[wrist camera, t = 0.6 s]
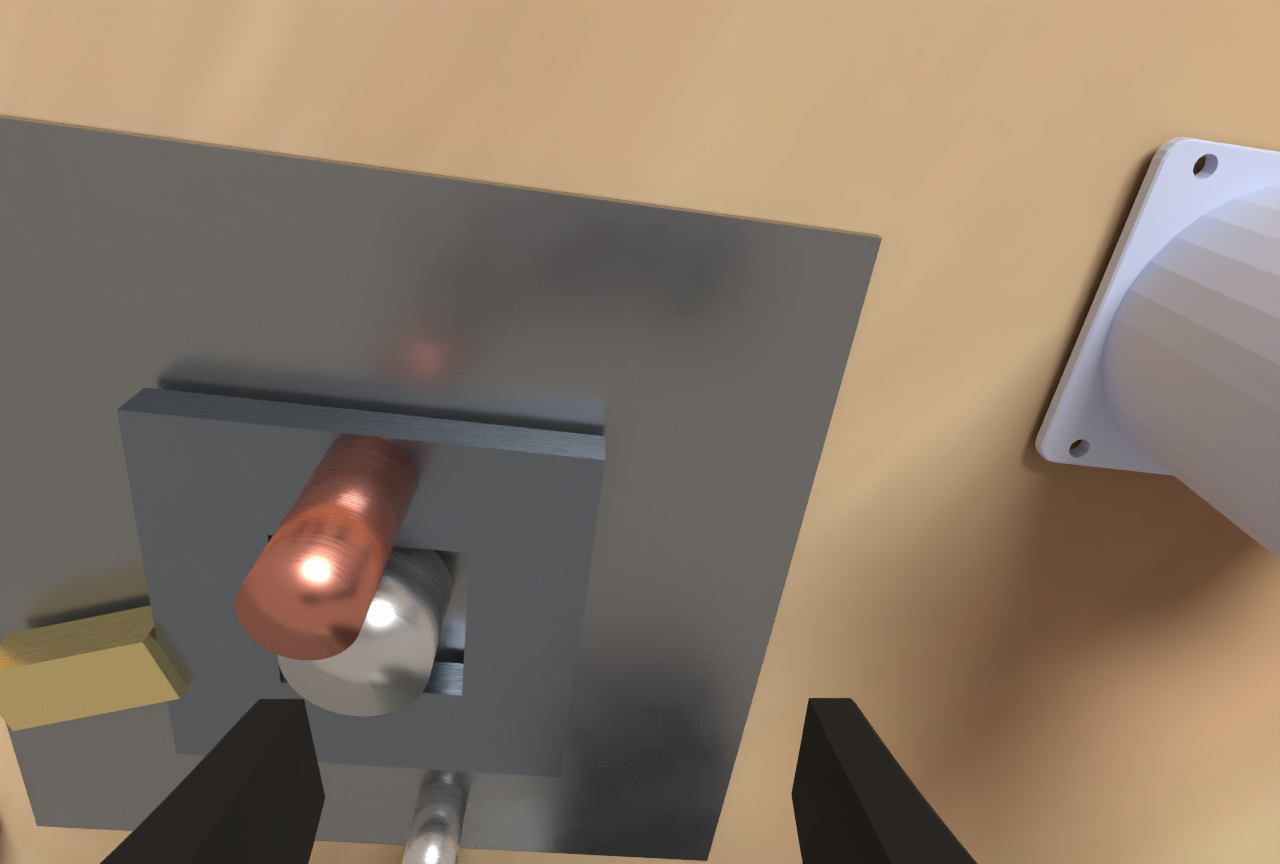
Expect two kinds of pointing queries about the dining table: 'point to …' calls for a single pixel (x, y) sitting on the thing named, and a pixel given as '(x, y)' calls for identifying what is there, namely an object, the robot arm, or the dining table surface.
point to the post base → (434, 388)
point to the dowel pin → (436, 825)
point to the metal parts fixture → (332, 578)
